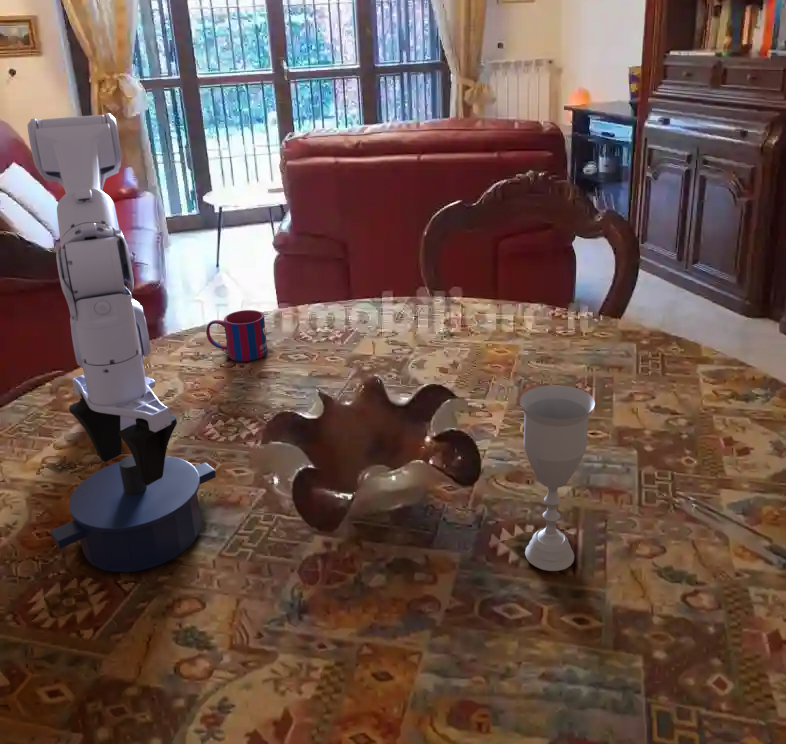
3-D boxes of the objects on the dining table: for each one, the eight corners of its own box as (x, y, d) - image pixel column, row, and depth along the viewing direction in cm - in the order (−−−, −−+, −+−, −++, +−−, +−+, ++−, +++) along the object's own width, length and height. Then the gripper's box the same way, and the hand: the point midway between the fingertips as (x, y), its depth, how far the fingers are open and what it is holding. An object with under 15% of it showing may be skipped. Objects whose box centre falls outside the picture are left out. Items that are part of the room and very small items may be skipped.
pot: (41, 545, 83) (31, 503, 81) (188, 478, 94) (183, 441, 92) (85, 604, 74) (76, 559, 72) (242, 522, 85) (237, 482, 83)
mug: (261, 362, 126) (257, 324, 124) (204, 361, 127) (199, 324, 125) (272, 346, 132) (268, 309, 130) (217, 345, 133) (212, 309, 131)
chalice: (541, 586, 74) (549, 426, 68) (501, 547, 80) (505, 396, 73) (598, 561, 77) (611, 406, 71) (556, 525, 83) (564, 379, 77)
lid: (70, 480, 86) (62, 445, 84) (191, 453, 91) (186, 419, 89) (71, 551, 74) (62, 512, 72) (209, 515, 79) (204, 478, 77)
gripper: (188, 356, 75) (204, 472, 80) (105, 326, 83) (124, 433, 88) (126, 382, 70) (148, 505, 74) (45, 348, 78) (69, 460, 83)
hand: (131, 468), depth 81 cm, fingers open, 7 cm apart
